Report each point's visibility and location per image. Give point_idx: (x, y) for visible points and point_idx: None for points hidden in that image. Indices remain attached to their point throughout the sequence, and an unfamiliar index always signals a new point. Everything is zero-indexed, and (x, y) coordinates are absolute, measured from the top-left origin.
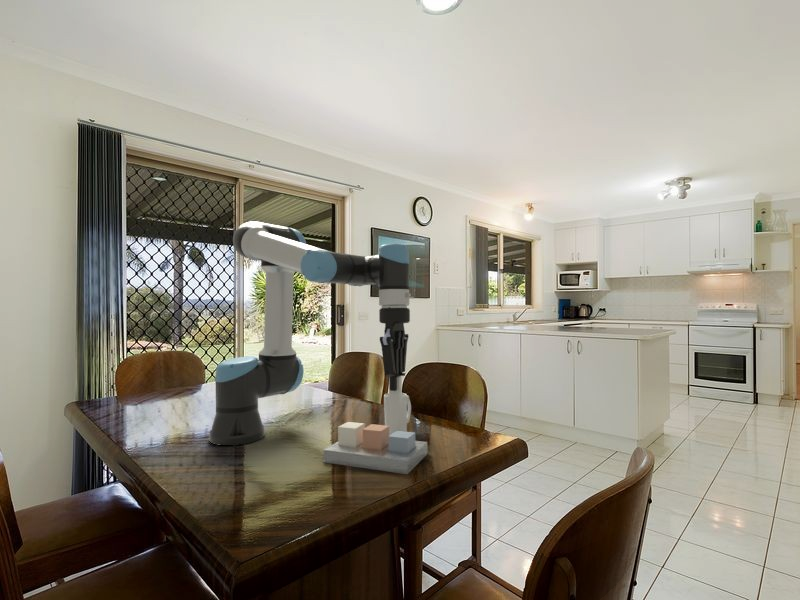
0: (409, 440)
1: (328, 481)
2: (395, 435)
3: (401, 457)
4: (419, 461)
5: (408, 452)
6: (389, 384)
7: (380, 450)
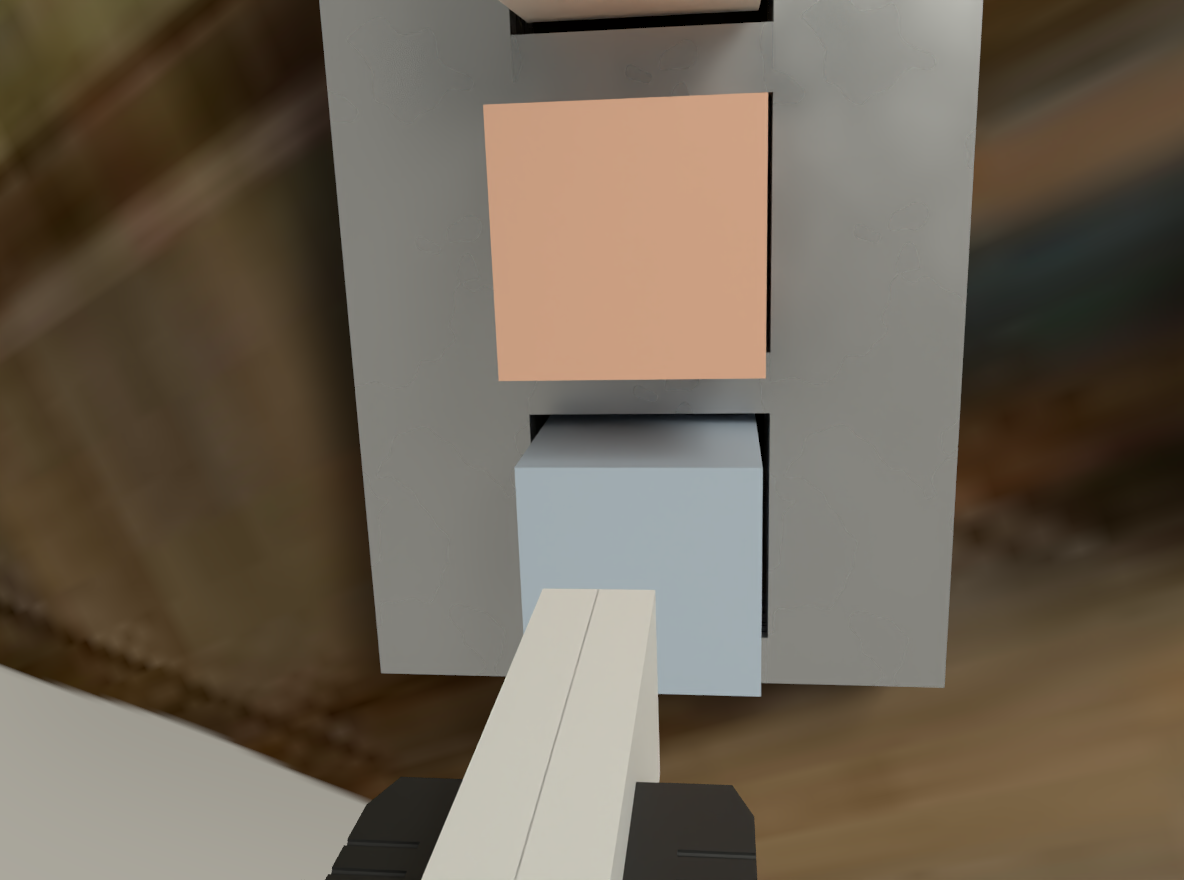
0: None
1: (25, 99)
2: (574, 529)
3: (432, 602)
4: None
5: None
6: (454, 806)
7: None
